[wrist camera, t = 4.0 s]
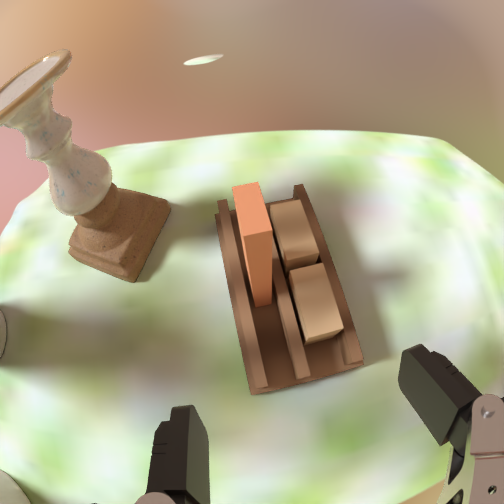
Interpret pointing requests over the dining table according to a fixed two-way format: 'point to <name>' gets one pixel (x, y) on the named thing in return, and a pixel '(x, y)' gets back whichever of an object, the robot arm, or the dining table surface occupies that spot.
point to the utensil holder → (11, 491)
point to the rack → (282, 314)
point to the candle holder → (81, 177)
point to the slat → (255, 240)
